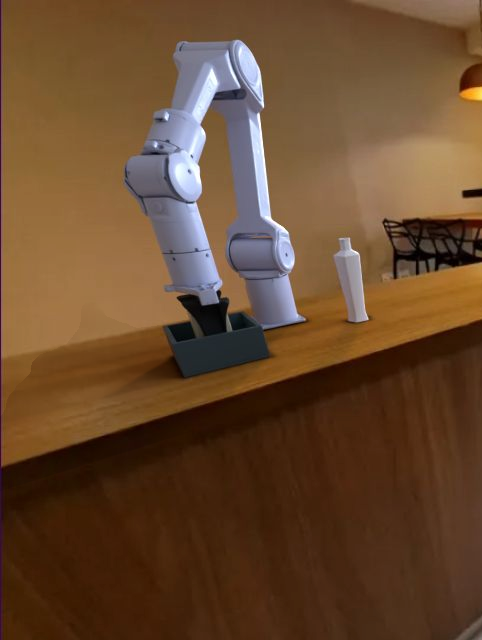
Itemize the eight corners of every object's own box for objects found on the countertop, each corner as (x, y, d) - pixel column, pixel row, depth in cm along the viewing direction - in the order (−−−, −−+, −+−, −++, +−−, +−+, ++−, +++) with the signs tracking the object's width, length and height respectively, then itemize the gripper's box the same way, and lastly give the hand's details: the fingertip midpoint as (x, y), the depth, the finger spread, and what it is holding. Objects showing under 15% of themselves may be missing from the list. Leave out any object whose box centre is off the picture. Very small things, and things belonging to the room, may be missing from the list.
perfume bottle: (364, 323, 82) (349, 240, 76) (342, 322, 83) (327, 240, 77) (375, 316, 86) (363, 237, 80) (355, 315, 87) (341, 236, 81)
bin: (173, 356, 69) (162, 325, 67) (251, 339, 76) (243, 311, 73) (184, 377, 61) (172, 344, 59) (270, 356, 68) (261, 325, 66)
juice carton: (201, 354, 68) (182, 299, 64) (234, 346, 71) (217, 294, 67) (205, 360, 66) (186, 304, 62) (239, 352, 68) (222, 298, 65)
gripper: (146, 248, 64) (178, 336, 70) (157, 260, 54) (194, 361, 60) (202, 243, 68) (228, 326, 74) (222, 253, 58) (250, 348, 64)
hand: (216, 341), depth 67 cm, fingers closed on juice carton, 3 cm apart
